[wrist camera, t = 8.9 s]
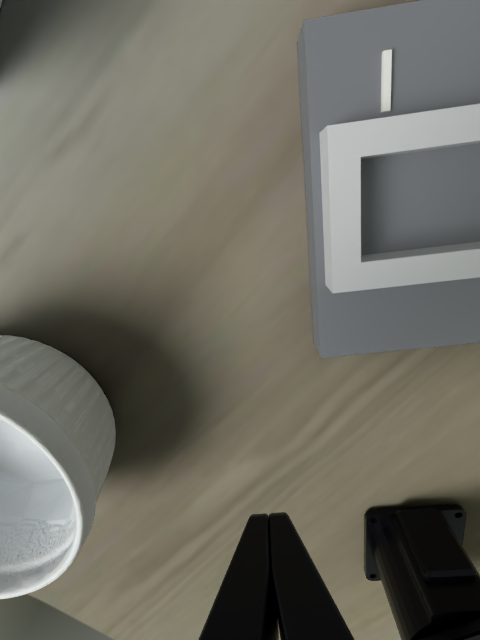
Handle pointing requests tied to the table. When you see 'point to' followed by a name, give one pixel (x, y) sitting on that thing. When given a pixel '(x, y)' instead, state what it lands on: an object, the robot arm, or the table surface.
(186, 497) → the table surface
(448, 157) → the console
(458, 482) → the table surface
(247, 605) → the robot arm
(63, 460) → the ramekin
